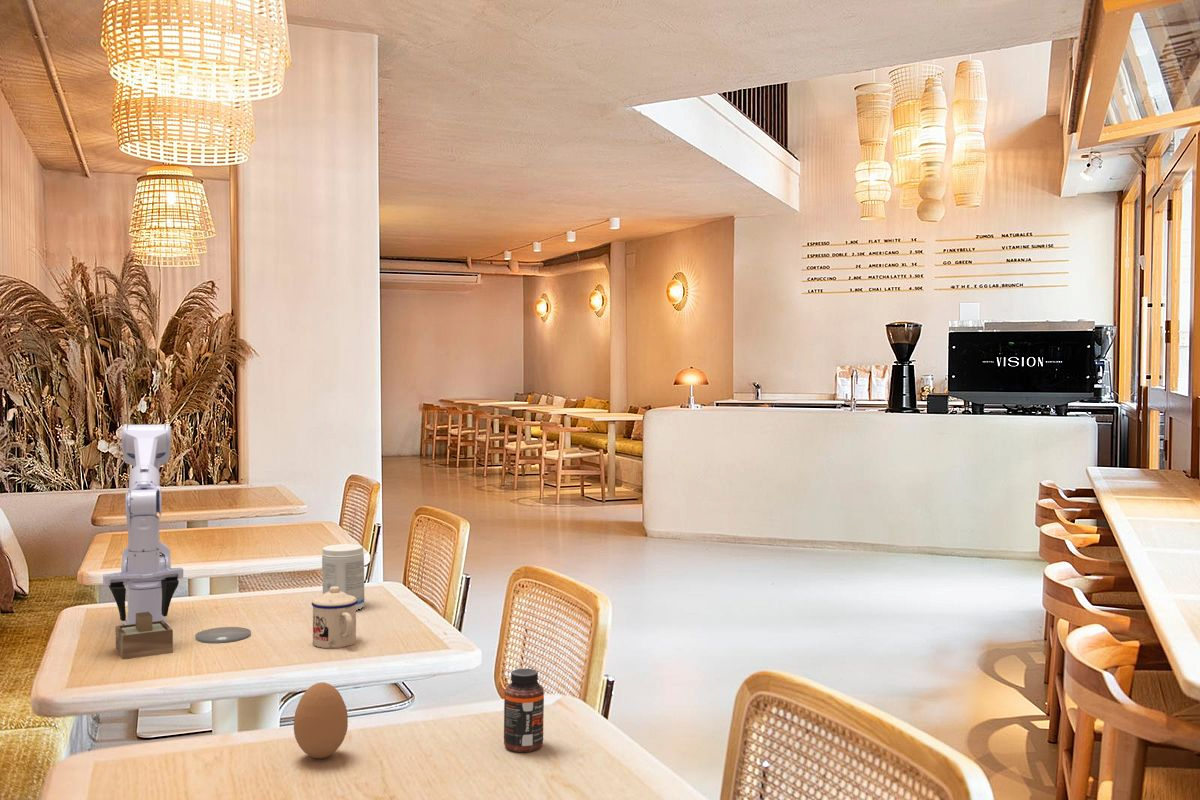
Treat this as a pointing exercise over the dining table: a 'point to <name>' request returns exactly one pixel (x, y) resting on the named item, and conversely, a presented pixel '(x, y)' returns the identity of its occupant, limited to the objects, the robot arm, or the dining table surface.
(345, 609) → the teacup with lid
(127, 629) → the lid
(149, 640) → the brown wooden open box
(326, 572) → the supplement tub
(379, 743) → the dining table surface
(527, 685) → the supplement bottle
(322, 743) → the egg
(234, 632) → the coaster
